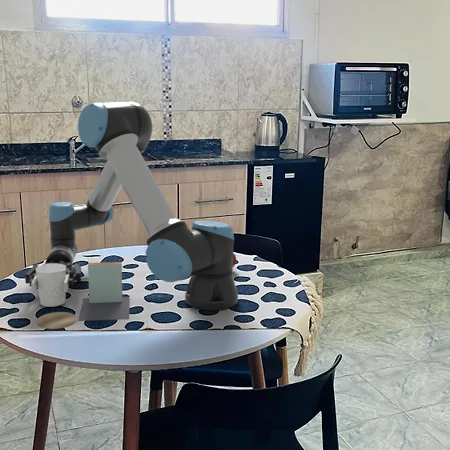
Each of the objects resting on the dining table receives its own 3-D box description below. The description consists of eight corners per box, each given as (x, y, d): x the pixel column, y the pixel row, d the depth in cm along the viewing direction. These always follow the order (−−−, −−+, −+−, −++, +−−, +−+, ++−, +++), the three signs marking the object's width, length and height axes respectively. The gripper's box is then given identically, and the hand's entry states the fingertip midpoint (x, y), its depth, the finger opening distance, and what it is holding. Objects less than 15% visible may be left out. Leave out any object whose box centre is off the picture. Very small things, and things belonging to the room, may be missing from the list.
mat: (83, 300, 167) (83, 298, 167) (129, 298, 169) (129, 296, 168) (78, 322, 152) (78, 320, 152) (129, 321, 154) (129, 318, 154)
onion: (216, 268, 196) (216, 245, 194) (232, 267, 198) (233, 244, 196) (221, 274, 191) (221, 250, 189) (238, 272, 193) (238, 249, 191)
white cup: (63, 308, 158) (61, 273, 155) (33, 307, 158) (31, 272, 156) (71, 297, 166) (69, 263, 163) (43, 296, 166) (41, 262, 163)
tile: (89, 300, 166) (88, 262, 163) (122, 298, 167) (121, 262, 164) (89, 303, 163) (87, 265, 160) (122, 302, 164) (121, 264, 162)
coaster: (85, 320, 153) (85, 317, 153) (55, 334, 145) (55, 331, 145) (58, 311, 158) (57, 309, 158) (28, 324, 150) (28, 321, 150)
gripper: (94, 272, 180) (89, 299, 158) (25, 274, 177) (9, 302, 155) (94, 248, 178) (88, 273, 156) (23, 250, 175) (7, 275, 153)
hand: (49, 287), depth 156 cm, fingers closed on white cup, 8 cm apart
